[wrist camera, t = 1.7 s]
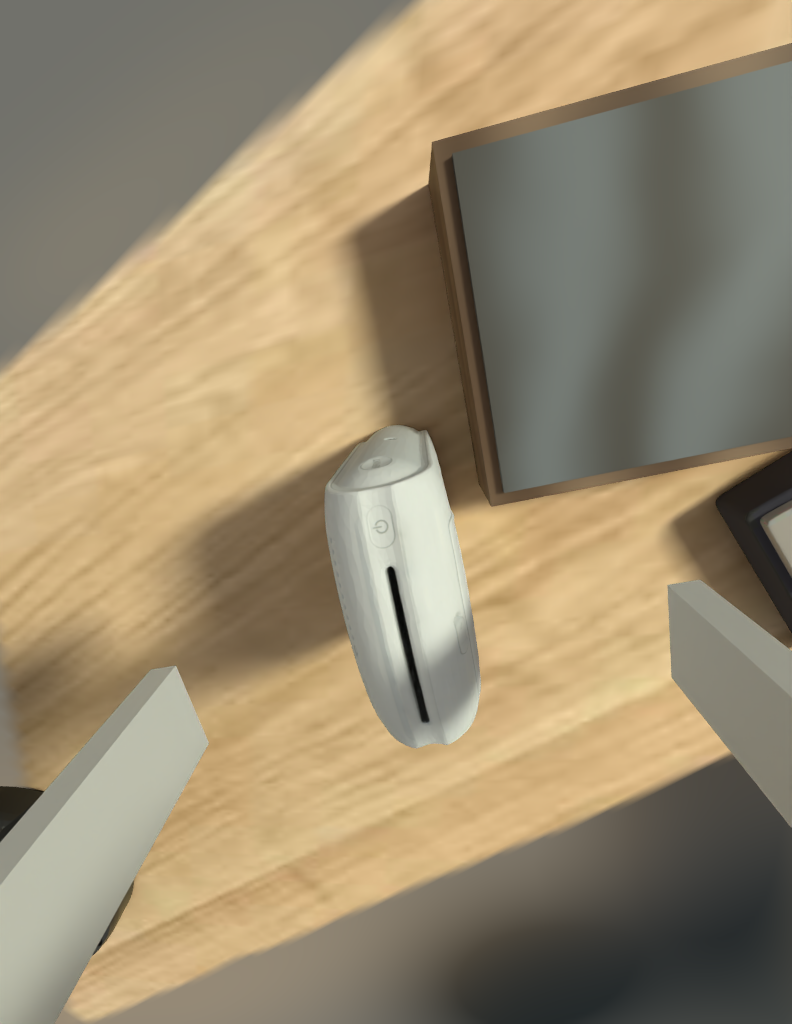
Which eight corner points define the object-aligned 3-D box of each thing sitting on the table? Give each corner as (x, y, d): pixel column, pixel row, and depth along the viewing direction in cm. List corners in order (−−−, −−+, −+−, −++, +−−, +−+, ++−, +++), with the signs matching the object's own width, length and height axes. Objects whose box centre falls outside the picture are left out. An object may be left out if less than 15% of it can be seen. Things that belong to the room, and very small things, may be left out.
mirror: (479, 484, 24) (492, 508, 20) (428, 183, 20) (432, 137, 16) (757, 428, 23) (831, 443, 19) (762, 94, 19) (858, 20, 15)
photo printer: (349, 431, 24) (287, 496, 12) (431, 414, 23) (449, 464, 12) (390, 605, 27) (372, 792, 15) (463, 593, 26) (503, 776, 15)
